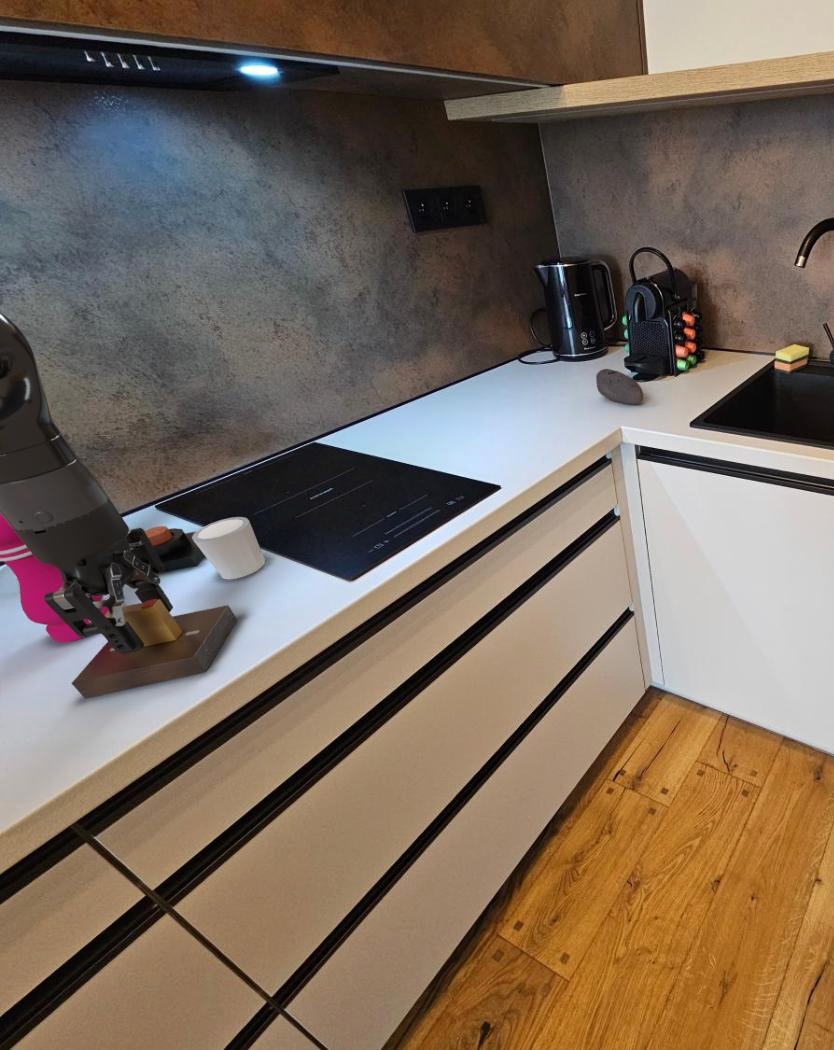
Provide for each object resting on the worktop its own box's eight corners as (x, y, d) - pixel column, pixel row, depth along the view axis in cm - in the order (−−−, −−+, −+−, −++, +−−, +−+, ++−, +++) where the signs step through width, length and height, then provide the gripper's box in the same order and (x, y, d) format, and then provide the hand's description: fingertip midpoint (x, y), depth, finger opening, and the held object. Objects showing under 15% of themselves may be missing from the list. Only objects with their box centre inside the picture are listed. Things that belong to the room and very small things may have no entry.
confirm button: (138, 550, 88) (132, 540, 87) (150, 538, 91) (144, 528, 90) (166, 545, 88) (160, 535, 88) (177, 533, 91) (171, 524, 90)
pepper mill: (51, 626, 78) (-59, 494, 67) (121, 602, 82) (27, 473, 71) (45, 654, 73) (-75, 515, 63) (119, 627, 77) (18, 492, 66)
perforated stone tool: (651, 405, 137) (648, 376, 134) (634, 411, 134) (630, 382, 131) (613, 393, 147) (609, 365, 143) (596, 398, 144) (592, 370, 140)
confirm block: (112, 582, 86) (97, 562, 84) (143, 550, 94) (130, 532, 92) (196, 566, 89) (184, 547, 87) (220, 536, 96) (210, 518, 94)
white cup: (215, 588, 83) (190, 547, 79) (215, 567, 88) (191, 527, 84) (271, 569, 86) (249, 529, 83) (268, 550, 91) (247, 511, 88)
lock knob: (127, 650, 68) (101, 615, 66) (134, 641, 70) (109, 607, 67) (176, 640, 70) (152, 605, 67) (182, 631, 71) (159, 597, 68)
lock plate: (84, 699, 66) (69, 682, 64) (131, 641, 74) (119, 625, 73) (205, 672, 68) (193, 655, 67) (237, 619, 76) (228, 603, 75)
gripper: (60, 485, 65) (143, 602, 74) (-39, 551, 54) (74, 682, 62) (137, 473, 67) (210, 589, 76) (58, 535, 55) (155, 664, 64)
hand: (148, 630), depth 69 cm, fingers open, 6 cm apart
